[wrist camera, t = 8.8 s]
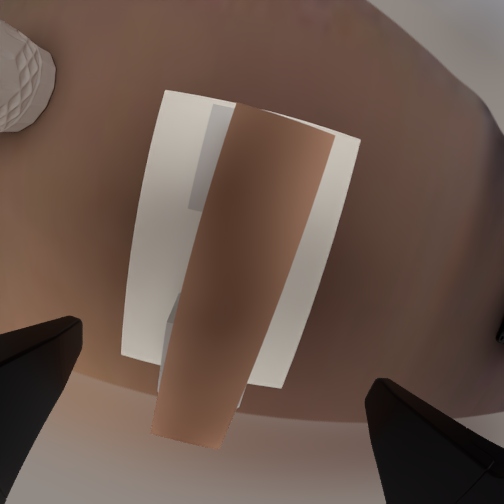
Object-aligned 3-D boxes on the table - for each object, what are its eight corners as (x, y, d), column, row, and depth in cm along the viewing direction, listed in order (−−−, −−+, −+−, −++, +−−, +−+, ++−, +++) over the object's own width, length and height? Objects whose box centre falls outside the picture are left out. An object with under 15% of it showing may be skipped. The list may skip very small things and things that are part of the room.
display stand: (355, 140, 19) (389, 135, 14) (279, 380, 23) (288, 425, 19) (168, 93, 18) (147, 72, 13) (124, 347, 22) (103, 387, 17)
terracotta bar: (310, 142, 14) (335, 135, 10) (221, 400, 18) (218, 449, 14) (237, 118, 14) (236, 102, 10) (163, 386, 17) (150, 433, 13)
